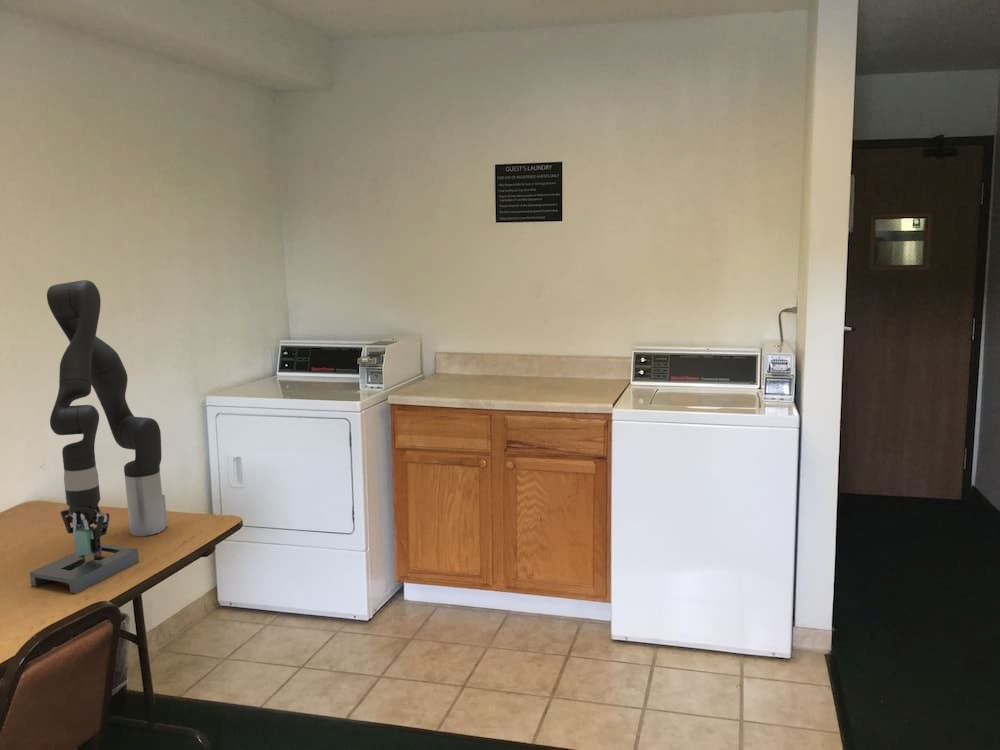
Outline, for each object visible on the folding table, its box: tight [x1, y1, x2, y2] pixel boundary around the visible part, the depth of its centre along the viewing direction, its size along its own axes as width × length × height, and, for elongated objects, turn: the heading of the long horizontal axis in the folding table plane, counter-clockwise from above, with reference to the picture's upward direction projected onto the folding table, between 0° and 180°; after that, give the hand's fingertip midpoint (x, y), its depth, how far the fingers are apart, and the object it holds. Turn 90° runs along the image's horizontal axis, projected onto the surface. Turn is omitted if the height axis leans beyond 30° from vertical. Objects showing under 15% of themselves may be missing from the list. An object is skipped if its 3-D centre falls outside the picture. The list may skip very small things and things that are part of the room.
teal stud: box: [73, 527, 102, 568], centre depth 205 cm, size 5×5×11 cm
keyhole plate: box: [29, 543, 140, 595], centre depth 205 cm, size 20×14×4 cm
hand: (88, 550), depth 205 cm, fingers closed on teal stud, 4 cm apart
